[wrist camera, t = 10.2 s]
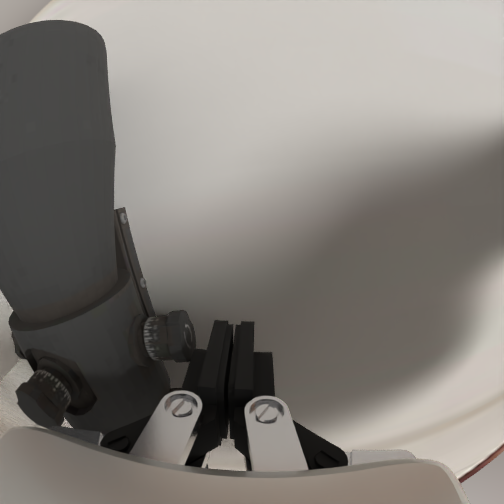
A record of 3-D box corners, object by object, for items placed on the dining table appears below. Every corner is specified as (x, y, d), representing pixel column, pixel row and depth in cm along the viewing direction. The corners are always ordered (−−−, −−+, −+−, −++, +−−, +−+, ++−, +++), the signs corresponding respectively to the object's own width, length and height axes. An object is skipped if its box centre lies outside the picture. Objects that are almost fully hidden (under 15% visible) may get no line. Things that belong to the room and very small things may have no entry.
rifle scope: (132, 427, 20) (101, 514, 10) (25, 119, 12) (-91, 118, 3) (246, 427, 19) (245, 535, 10) (163, 56, 12) (66, -46, 2)
